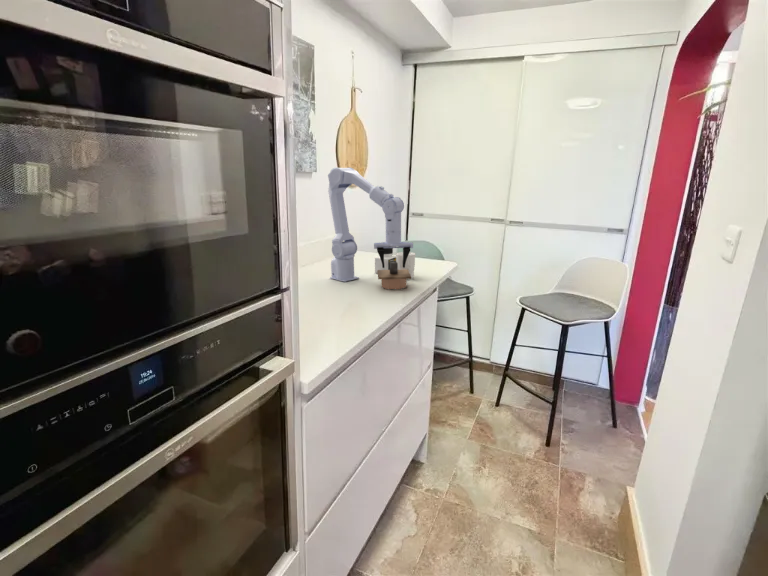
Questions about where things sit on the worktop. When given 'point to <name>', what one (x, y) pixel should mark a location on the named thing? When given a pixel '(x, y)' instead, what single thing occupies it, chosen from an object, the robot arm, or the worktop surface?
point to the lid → (393, 273)
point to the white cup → (409, 262)
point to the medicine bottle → (385, 260)
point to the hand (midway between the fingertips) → (393, 267)
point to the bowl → (393, 283)
